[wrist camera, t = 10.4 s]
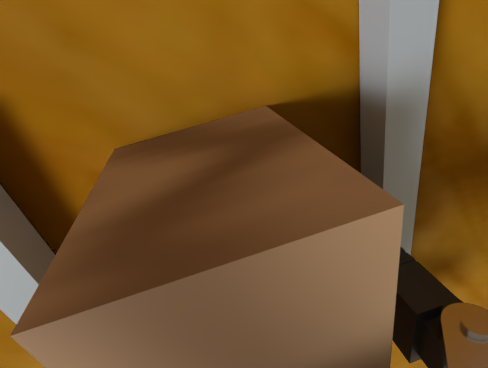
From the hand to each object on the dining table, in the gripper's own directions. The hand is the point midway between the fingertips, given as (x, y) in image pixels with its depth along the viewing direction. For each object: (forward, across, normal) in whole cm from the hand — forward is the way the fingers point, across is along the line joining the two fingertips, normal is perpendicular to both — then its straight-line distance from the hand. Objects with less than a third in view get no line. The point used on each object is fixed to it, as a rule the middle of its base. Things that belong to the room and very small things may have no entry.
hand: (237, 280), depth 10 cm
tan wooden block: (+3, 0, 0) cm, 3 cm away
